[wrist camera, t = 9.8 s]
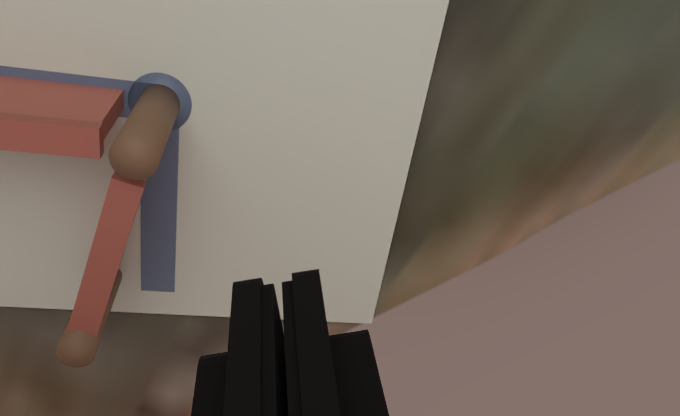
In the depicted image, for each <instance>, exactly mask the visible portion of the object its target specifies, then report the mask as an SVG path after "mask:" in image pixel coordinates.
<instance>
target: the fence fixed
mask: <svg viewBox="0 0 680 416" xmlns="http://www.w3.org/2000/svg"><path fill="white" fill-rule="evenodd" d="M179 108H180V101H179V98H178V96H177V94H176V93H175V92H174V91H173V90H172V89H171V88H169V87H167V86H165V85H161V84H155V85H151V86H149V87H147V88H146V89H145V90H144V91H143V92H142V94H141V95H140V97H139V99H138V101H137V102H136V104H135V106H134V107H133V109H132V111H131V113H130V114H129V116H128V118H127V120H126V121H125V123H124V125H123V126H122V128H121V130H120V132H119V133H118V135H117V137H116V138H115V140H114V142H113V144H112V145H111V147H110V149H109V155H108V157H109V162H110V164H111V166H112V168H113V169H114V170H115V171H116V172H117V173H118V174H119V175H121V176H122V177H124V178H127V179H130V180H143V179H146V178H148V177H150V176H152V175H153V174H154V173H155V172H156V170H157V168H158V165H159V163H160V160H161V157H162V155H163V152H164V149H165V147H166V144H167V141H168V139H169V136H170V133H171V130H172V128H173V125H174V122H175V120H176V117H177V114H178V112H179ZM123 109H124V93H123V90H122V89H113V88H104V87H96V86H87V85H78V84H69V83H60V82H52V81H43V80H34V79H25V78H17V77H8V76H0V150H7V151H18V152H28V153H39V154H50V155H61V156H72V157H82V158H93V159H101V157H102V155H103V154H104V139H105V138H106V136H107V135H108V133H109V131H110V130H111V128H112V127H113V125H114V123H115V122H116V120H117V118H118V117H119V115H120V114H121V112H122V110H123Z"/></svg>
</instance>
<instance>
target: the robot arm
mask: <svg viewBox="0 0 680 416" xmlns="http://www.w3.org/2000/svg"><path fill="white" fill-rule="evenodd" d="M282 299H283V319H284V332H283V327H282V322H281V317H280V312H279V307H278V302H277V297H276V292H275V287H274V284H273V283H272V284H266V285H264V284H263V280H262V278H256V279H249V280H243V281H236V282H233V286H232V300H231V313H230V327H229V340H228V352H224V353H218V354H212V355H205V356H201V357H200V359H199V362H198V368H197V375H196V383H195V390H194V398H193V405H192V413H191V416H389V414H388V410H387V406H386V401H385V397H384V393H383V389H382V385H381V381H380V377H379V372H378V368H377V364H376V360H375V356H374V351H373V348H372V343H371V339H370V335H369V332H368V330H362V331H356V332H350V333H343V334H337V335H331V336H329V333H328V327H327V320H326V313H325V307H324V300H323V293H322V287H321V280H320V273H319V269H315V270H308V271H302V272H295V273H292V281H285V282H282Z"/></svg>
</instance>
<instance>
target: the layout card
mask: <svg viewBox="0 0 680 416" xmlns="http://www.w3.org/2000/svg"><path fill="white" fill-rule="evenodd" d="M448 3H449V0H0V76H8V77H17V78H25V79H34V80H43V81H52V82H60V83H69V84H78V85H87V86H96V87H104V88H113V89H122V90H123V93H124V109H123V110H122V112H121V114H120V115H119V117H118V118H117V120H116V122H115V123H114V125H113V127H112V128H111V130H110V131H109V133H108V135H107V136H106V138H105V139H104V154H103V155H102V157H101V159H93V158H82V157H72V156H61V155H50V154H39V153H28V152H18V151H7V150H0V306H4V307H26V308H47V309H68V310H73V309H74V305H75V302H76V298H77V295H78V292H79V288H80V285H81V281H82V278H83V274H84V271H85V267H86V264H87V260H88V257H89V253H90V250H91V246H92V243H93V239H94V236H95V232H96V229H97V225H98V222H99V219H100V215H101V212H102V208H103V205H104V201H105V198H106V194H107V191H108V187H109V184H110V180H111V177H112V175H113V174H114V172H115V170H114V169H113V168H112V166H111V164H110V162H109V157H108V155H109V149H110V147H111V145H112V144H113V142H114V140H115V138H116V137H117V135H118V133H119V132H120V130H121V128H122V126H123V125H124V123H125V121H126V120H127V118H128V116H129V114H130V113H131V111H132V109H133V107H134V106H135V104H136V102H137V101H138V99H139V97H140V95H141V94H142V92H143V91H144V90H145V89H146V88H147V87H149V86H151V85H155V84H161V85H165V86H167V87H169V88H171V89H172V90H173V91H174V92H175V93H176V94H177V96H178V98H179V101H180V108H179V112H178V114H177V117H176V120H175V122H174V125H173V128H172V130H171V133H170V136H169V139H168V141H167V144H166V147H165V149H164V152H163V155H162V157H161V160H160V163H159V165H158V168H157V170H156V172H155V173H154V174H153V175H152V176H150V177H148V178H146V185H145V188H144V191H143V194H142V197H141V200H140V203H139V207H138V210H137V213H136V216H135V219H134V222H133V225H132V229H131V232H130V235H129V238H128V241H127V244H126V247H125V251H124V254H123V257H122V260H121V263H120V266H119V269H120V270H121V272H122V280H121V283H120V286H119V289H118V292H117V294H116V297H115V300H114V303H113V306H112V308H111V312H132V313H154V314H175V315H197V316H218V317H230V313H231V300H232V286H233V282H236V281H243V280H249V279H256V278H262V280H263V284H264V285H266V284H272V283H273V284H274V287H275V292H276V297H277V302H278V307H279V312H280V317H281V319H282V320H284V319H283V299H282V282H285V281H292V273H295V272H302V271H308V270H315V269H319V273H320V280H321V287H322V293H323V300H324V307H325V313H326V320H327V322H346V323H368V324H372V320H373V316H374V312H375V308H376V304H377V299H378V295H379V291H380V287H381V283H382V279H383V274H384V270H385V266H386V262H387V258H388V253H389V249H390V245H391V241H392V237H393V233H394V228H395V224H396V220H397V216H398V212H399V208H400V203H401V199H402V195H403V191H404V187H405V182H406V178H407V174H408V170H409V166H410V162H411V157H412V153H413V149H414V145H415V141H416V136H417V132H418V128H419V124H420V120H421V116H422V111H423V107H424V103H425V99H426V95H427V90H428V86H429V82H430V78H431V74H432V70H433V65H434V61H435V57H436V53H437V49H438V45H439V40H440V36H441V32H442V28H443V24H444V19H445V15H446V11H447V7H448Z"/></svg>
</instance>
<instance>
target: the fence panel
mask: <svg viewBox="0 0 680 416" xmlns="http://www.w3.org/2000/svg"><path fill="white" fill-rule="evenodd" d="M145 185H146V179H143V180H130V179H127V178H124V177H122V176H121V175H119V174H118V173H117V172H116V171H115V172H114V174H113V175H112V177H111V180H110V184H109V187H108V191H107V194H106V198H105V201H104V205H103V208H102V212H101V215H100V219H99V222H98V225H97V229H96V232H95V236H94V239H93V243H92V246H91V250H90V253H89V257H88V260H87V264H86V267H85V271H84V274H83V278H82V281H81V285H80V288H79V292H78V295H77V298H76V302H75V305H74V309H73V312H72V314H71V316H70V319H69V321H68V323H67V325H66V328H65V330H64V332H63V334H62V337H61V339H60V341H59V343H58V346H57V348H56V351H55V354H56V357H57V359H58V360H59V361H60V362H61V363H63V364H64V365H67V366H70V367H84V366H86V365H88V364H90V363H91V362H92V361H93V359H94V356H95V353H96V350H97V348H98V345H99V342H100V339H101V336H102V334H103V331H104V328H105V325H106V322H107V320H108V317H109V314H110V311H111V308H112V306H113V303H114V300H115V297H116V294H117V292H118V289H119V286H120V283H121V280H122V272H121V270H120V269H119V266H120V263H121V260H122V257H123V254H124V251H125V247H126V244H127V241H128V238H129V235H130V232H131V229H132V225H133V222H134V219H135V216H136V213H137V210H138V207H139V203H140V200H141V197H142V194H143V191H144V188H145Z"/></svg>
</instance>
